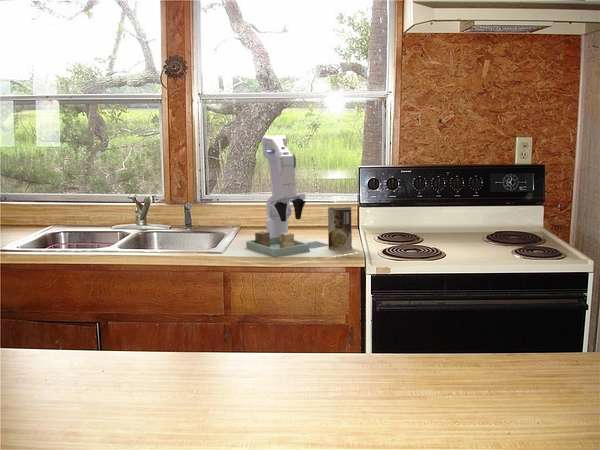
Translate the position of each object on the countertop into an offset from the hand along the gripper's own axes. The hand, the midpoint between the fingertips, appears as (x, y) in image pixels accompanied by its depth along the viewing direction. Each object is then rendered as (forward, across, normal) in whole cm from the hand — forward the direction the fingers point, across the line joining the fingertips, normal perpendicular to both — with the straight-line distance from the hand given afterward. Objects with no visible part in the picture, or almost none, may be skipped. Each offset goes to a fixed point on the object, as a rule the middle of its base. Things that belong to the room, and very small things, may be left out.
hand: (290, 220), depth 248 cm
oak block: (+11, -4, 0) cm, 11 cm away
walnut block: (+9, -12, -4) cm, 16 cm away
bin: (+11, -6, -2) cm, 13 cm away
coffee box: (+12, +11, +16) cm, 23 cm away
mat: (+10, 0, +13) cm, 16 cm away
